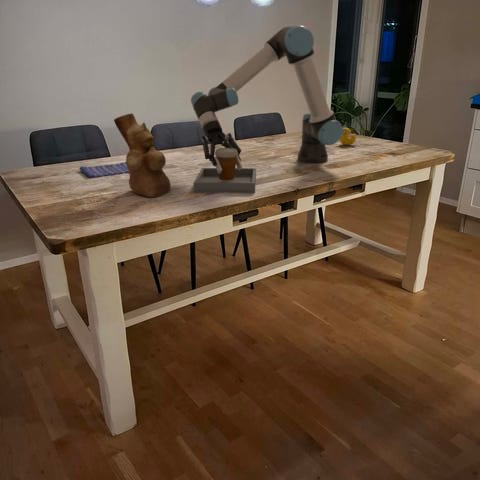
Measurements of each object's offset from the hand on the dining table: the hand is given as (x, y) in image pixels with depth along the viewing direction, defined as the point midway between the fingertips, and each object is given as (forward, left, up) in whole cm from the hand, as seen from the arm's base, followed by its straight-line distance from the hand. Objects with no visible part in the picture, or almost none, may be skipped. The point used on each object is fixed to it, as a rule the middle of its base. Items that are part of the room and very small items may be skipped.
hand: (230, 170), depth 186 cm
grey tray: (+2, -3, -7) cm, 7 cm away
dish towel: (+59, -24, -7) cm, 64 cm away
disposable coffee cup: (+2, -3, -4) cm, 6 cm away
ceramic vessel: (+34, +8, -7) cm, 36 cm away
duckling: (-61, -89, -7) cm, 108 cm away
